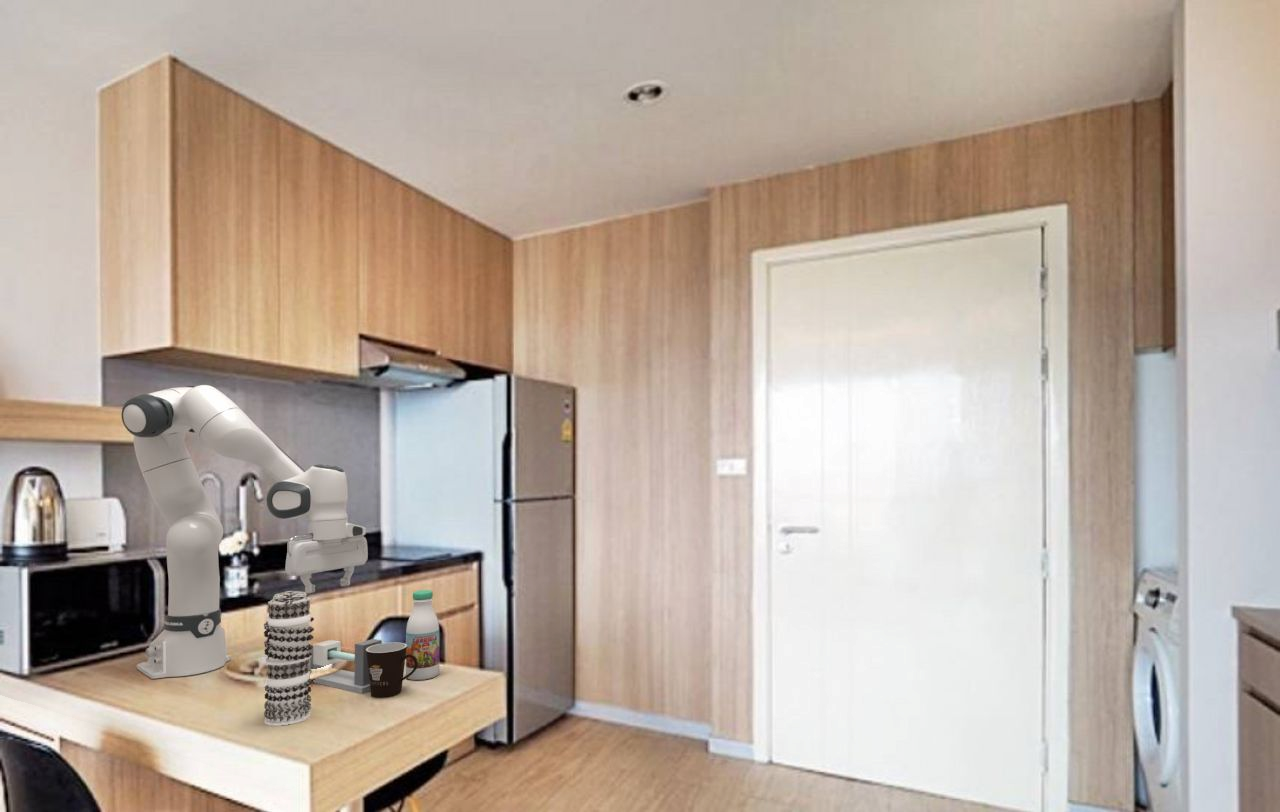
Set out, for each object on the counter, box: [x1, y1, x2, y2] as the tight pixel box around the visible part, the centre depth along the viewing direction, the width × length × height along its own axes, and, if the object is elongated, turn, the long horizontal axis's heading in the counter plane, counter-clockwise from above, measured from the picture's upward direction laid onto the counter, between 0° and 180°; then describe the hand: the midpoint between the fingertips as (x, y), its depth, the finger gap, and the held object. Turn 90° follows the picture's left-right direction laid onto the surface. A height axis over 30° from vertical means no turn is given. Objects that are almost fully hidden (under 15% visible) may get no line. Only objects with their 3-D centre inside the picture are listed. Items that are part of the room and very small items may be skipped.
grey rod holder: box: [309, 638, 383, 695], centre depth 165 cm, size 22×7×10 cm, turn 59°
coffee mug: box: [366, 641, 418, 699], centre depth 156 cm, size 12×9×10 cm
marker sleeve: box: [312, 639, 342, 666], centre depth 168 cm, size 4×5×5 cm
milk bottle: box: [405, 589, 440, 681], centre depth 169 cm, size 8×8×20 cm
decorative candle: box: [263, 590, 315, 727], centre depth 143 cm, size 9×9×25 cm
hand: (328, 589), depth 170 cm, fingers open, 8 cm apart
